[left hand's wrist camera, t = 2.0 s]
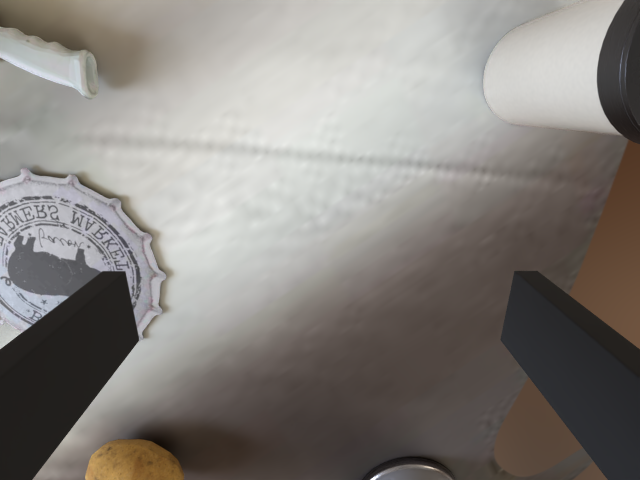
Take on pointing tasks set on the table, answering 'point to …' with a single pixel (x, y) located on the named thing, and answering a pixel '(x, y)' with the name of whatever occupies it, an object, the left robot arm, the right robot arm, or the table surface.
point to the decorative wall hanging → (67, 248)
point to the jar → (552, 70)
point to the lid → (621, 71)
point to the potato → (133, 462)
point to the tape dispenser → (50, 61)
